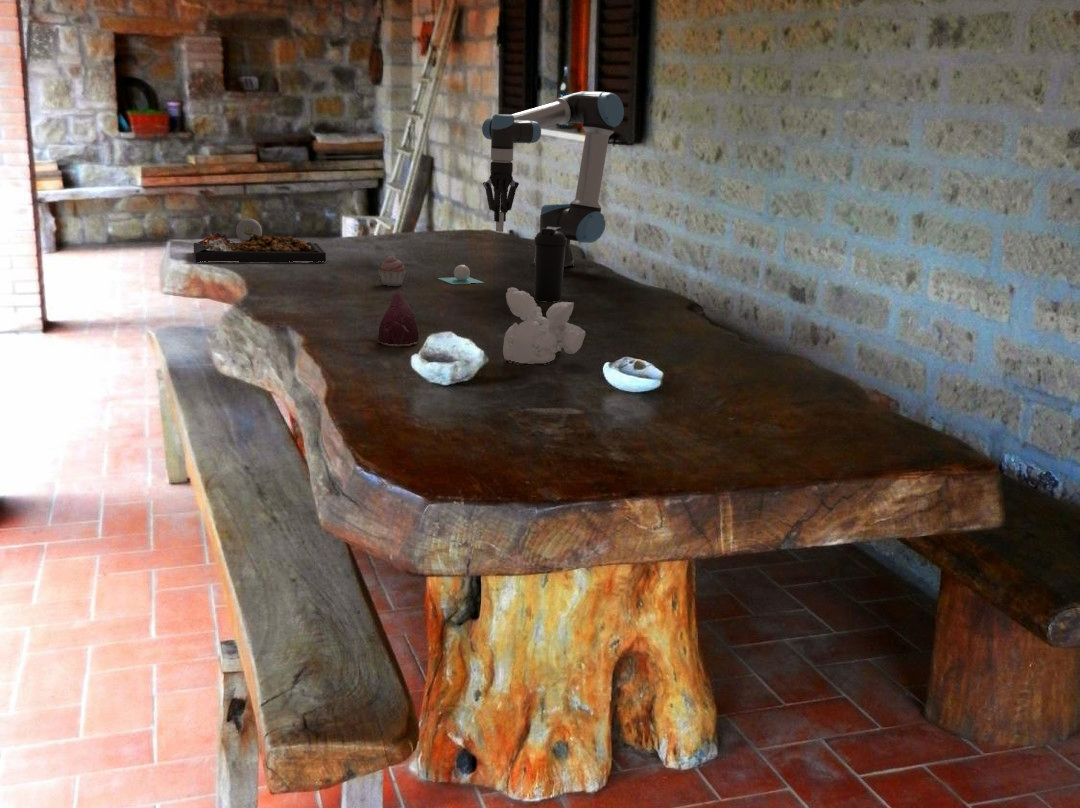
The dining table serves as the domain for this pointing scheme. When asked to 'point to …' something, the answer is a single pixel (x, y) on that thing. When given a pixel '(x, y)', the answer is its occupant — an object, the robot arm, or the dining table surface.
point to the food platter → (257, 249)
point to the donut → (244, 224)
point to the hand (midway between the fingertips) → (499, 231)
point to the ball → (461, 272)
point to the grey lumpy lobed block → (539, 330)
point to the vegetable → (398, 323)
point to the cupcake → (392, 271)
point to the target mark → (455, 281)
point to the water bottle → (549, 264)
